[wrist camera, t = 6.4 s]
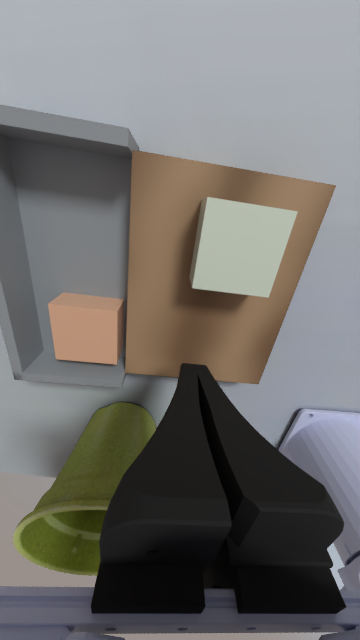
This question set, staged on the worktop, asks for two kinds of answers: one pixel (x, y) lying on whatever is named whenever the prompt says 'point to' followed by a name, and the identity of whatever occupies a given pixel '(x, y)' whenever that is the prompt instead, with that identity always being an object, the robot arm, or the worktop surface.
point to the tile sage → (239, 246)
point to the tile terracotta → (87, 328)
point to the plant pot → (84, 492)
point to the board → (176, 258)
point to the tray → (61, 234)
